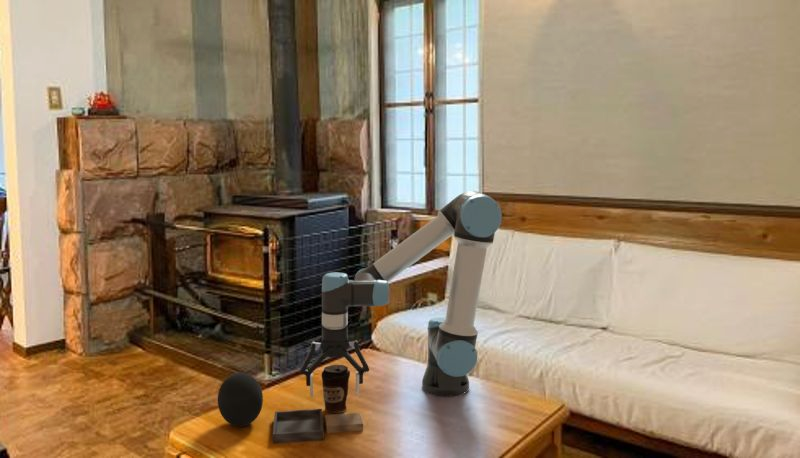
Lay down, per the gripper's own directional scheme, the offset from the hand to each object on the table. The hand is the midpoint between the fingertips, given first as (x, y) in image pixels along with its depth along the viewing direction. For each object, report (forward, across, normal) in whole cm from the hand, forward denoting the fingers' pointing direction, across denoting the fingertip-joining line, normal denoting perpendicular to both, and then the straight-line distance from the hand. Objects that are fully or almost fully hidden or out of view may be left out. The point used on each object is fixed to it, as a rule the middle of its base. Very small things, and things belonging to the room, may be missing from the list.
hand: (334, 395), depth 193 cm
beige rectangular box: (+5, -2, +11) cm, 13 cm away
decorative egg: (+5, +27, +6) cm, 28 cm away
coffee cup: (+5, 0, 0) cm, 5 cm away
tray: (+5, +11, +12) cm, 16 cm away
